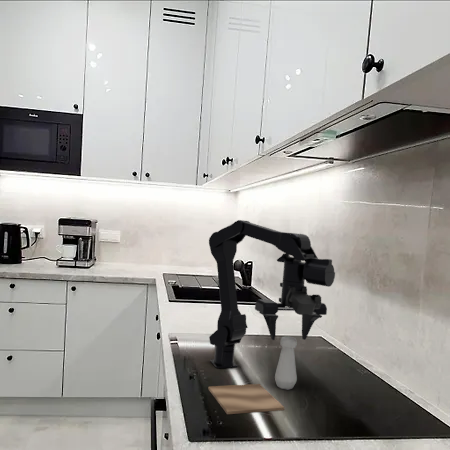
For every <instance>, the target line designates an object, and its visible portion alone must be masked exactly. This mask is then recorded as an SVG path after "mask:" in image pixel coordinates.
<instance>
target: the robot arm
mask: <svg viewBox="0 0 450 450" xmlns="http://www.w3.org/2000/svg"><path fill="white" fill-rule="evenodd" d="M245 237H249V238H252V239H255V240H259V241H261V242H263V243H268V244H270V245H272V246H273V247H276V248H277V250H279V251H281V252H283V254H282V255H281V256H279V257H277V259H276V261H277V262H278V263H283V273H282V282H280V283H279V287H281V295H280V297H279V298H278V302H276V301H274V300H272V299H257V300H256V302H255V305H254V310H255V311H257V312H258V313H259V314H261V315H262V316H263V318H264V321H265V322H266V323H265V324H266V326H267V329H268V332H269V334H270V335H269V336H270V339H271V340H272V341H275V340H276V339H275V338H276V333H277V332H276V329H277V320H278V318H279V315H277V313H278V312H279V311H288V312H289V311H293V312H295V314H297V315H301V337H302V340H305V341H306V339H307V337H308V335H309V333H310V330H311V328H312V327H313V325H314V323H315V321H317V320H318V319H320V318H322V317H323V315H324V316H325V315H326V316H327V313H328V312H327V311H328V308H327V305H326V303H324V302H322V297H321V295H320V294H308V288H307V286H306V285H305V282H306V283H308V284H311V285H315V286H316V285H318V286H322V287H331V286H332V285H333V283H334V281H335V277H336V272H335V268H334V265H333V260H332V259H330V258H319V257H318V255H317V254H316V252H315V251H314V249H313V247H312V244H311V239H310V237H309V236H308V235H307V234H304V233H294V232H283V231H278V230H275V229H272V228H270V227H266V226H264V225H263V226H262V225H259V224H256V223H252V222H251V221H249V220H243V219H242V220H241V219H238V220H236V221H234V222H232V223H231V224H229V225H228V226H225V227H223V228H221V229H220V230H218V231H215V232H213V233H212V234H211V235H210V237H209V239H208V245H209V248H210V249H209V250H210V253H211V255H212V257H213V258H214V260H215V262H216V267H217V277H218V289H219V299H220V312H219V316H218V318H217V323H216V324H217V325H216V326H217V327H216V328H217V329H216V330H215V331H213V333H212V334H211V335H210V336H209V343H210V345H212V346H215V348H214V358H211V359H210V360H209V361H210V362H211V364H212V365H213V366H214V367H215V368H217V369H226V368H238V365H237V364H236V363H235V361H234V360H235V359H234V358H235V348H236V347H235V346H236V344H240V343H241V341H242V339H243V338H244V337H245V335H246V334H247V329H249V327H248V324H247V315H246V313H244V314H243V313H241V311H240V310H239V307H238V306H239V305H238V296H237V287H236V277H235V269H234V267H235V266H234V259H235V257H236V254H237V252H238V251H237V248H238V246H237V245H238V244H240V243H241V242H243V240H244V239H245Z"/></svg>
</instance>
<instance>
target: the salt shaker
mask: <svg viewBox="0 0 450 450" xmlns="http://www.w3.org/2000/svg"><path fill="white" fill-rule="evenodd" d="M279 344H280V346H281V349H280V354H279V358H278V362H277V366H276V370H275V374H274V379H275V383H276V386H277V387H278V388H279V389H282V390H288V391H289V390H292V389H293V388H294V386H295V384H296V383H297V380H298V377H297V369H296V368H297V367H296V359H295V358H296V357H295V348H297V344H298V342H297V339H296V338H295V337H293V336H288V335H287V336H281V338H280V343H279Z"/></svg>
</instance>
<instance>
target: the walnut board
mask: <svg viewBox="0 0 450 450" xmlns="http://www.w3.org/2000/svg"><path fill="white" fill-rule="evenodd" d="M207 389H208V391H209V392H210V393H211V395H212V396H213V397H214V399H215V400H216V402H217V403H218V404H219V405H220V407H221V408H222V409H223V411H224V412H225V413H226V415H233V414H235V415H236V414H238V415H239V414H248V413H251V414H252V413H260V412H261V413H262V412H263V413H264V412H276V411H285V406H284V405H282V403H280V401H278V400H277V399H276V398H275V397H274V396H273V395H272V394H271V393H270V392H269V391H268V390H266V388H264V387H263V386H262V385H261V384H260V383H252V384H251V383H249V384H233V385H217V386H216V385H213V386H208V388H207Z"/></svg>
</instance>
